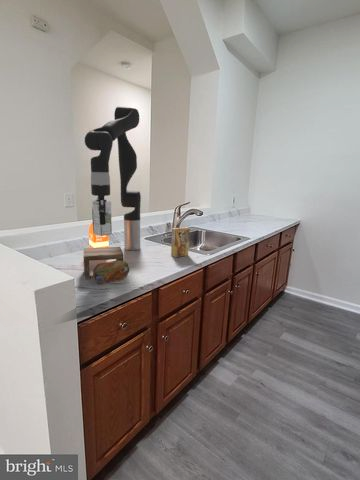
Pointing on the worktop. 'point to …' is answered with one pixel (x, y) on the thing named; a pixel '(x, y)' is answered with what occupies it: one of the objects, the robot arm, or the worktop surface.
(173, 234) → the candy box
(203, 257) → the worktop surface
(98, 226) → the syrup box
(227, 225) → the worktop surface
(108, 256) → the walnut shelf
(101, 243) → the orange juice
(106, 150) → the robot arm
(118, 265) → the tin
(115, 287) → the worktop surface
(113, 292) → the worktop surface
